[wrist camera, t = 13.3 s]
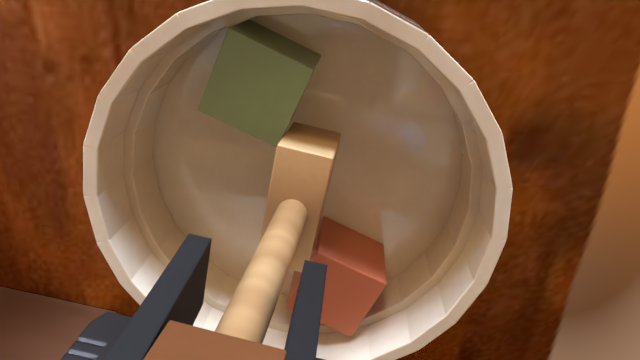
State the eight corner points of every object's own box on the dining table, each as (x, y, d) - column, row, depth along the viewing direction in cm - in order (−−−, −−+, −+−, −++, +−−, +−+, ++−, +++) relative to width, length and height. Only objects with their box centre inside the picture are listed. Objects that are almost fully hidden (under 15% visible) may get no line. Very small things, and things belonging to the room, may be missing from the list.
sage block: (289, 123, 25) (277, 148, 22) (221, 90, 25) (196, 110, 21) (321, 54, 24) (313, 69, 20) (249, 18, 23) (228, 27, 20)
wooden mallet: (288, 120, 24) (104, 359, 8) (346, 133, 24) (270, 403, 8) (269, 222, 26) (95, 563, 11) (321, 236, 26) (225, 600, 10)
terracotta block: (352, 292, 30) (351, 337, 26) (294, 266, 29) (285, 308, 25) (384, 243, 28) (387, 284, 24) (323, 215, 28) (317, 252, 24)
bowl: (421, 333, 31) (433, 410, 26) (132, 269, 31) (82, 332, 25) (535, 33, 23) (589, 51, 18) (148, -55, 23) (82, -64, 18)
